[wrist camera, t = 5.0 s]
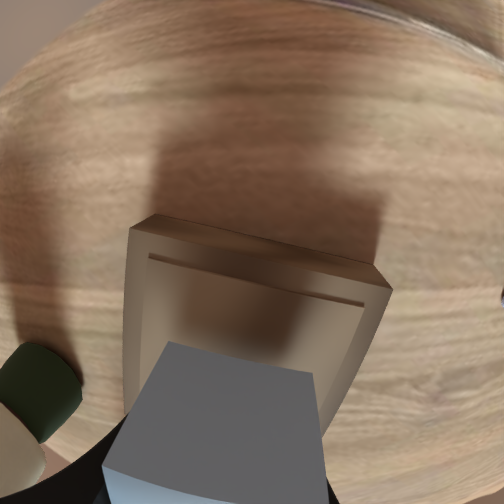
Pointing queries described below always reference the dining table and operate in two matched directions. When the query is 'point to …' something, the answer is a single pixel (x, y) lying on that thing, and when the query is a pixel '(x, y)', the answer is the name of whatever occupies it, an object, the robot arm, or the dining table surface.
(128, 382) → the walnut plinth
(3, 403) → the character mug
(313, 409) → the blue block
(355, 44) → the dining table surface
